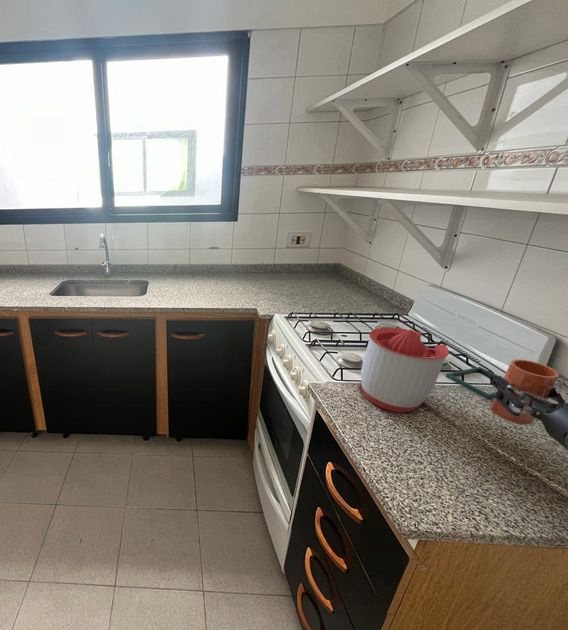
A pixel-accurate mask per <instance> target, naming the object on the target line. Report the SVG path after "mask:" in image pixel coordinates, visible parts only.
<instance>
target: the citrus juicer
mask: <svg viewBox="0 0 568 630" xmlns="http://www.w3.org/2000/svg"><path fill="white" fill-rule="evenodd" d="M422 335H423V334H422V332H419V331H415V330H413V329H406V328H400V327H377V328H375V329H372V330H371V331H369V339H368V343H367V346H366V350H365V353H364V357H363V360H362V365H361V369H360V370H361V372H360V378H361V379H360V380H361V383H360V385H361V391H362V394H363V396H364V397H365V398H366V399H367V400H368V401H369V402H371V404H373V405H375V406H377V407H379V408H382V409H384V410H386V411H388V412H394V413H403V414H404V413H410V412H413V411H415V410H416V409H418V408H419V407H420V406H422V404H423V402H425V400H426V399H427V398H428V397H429V395H430V394H431V392H433V390H434V387H435V385H436V383H437V381H438V377H439V375H440V373H441V370H442V367H443V365H444V363H445V360H446V357H448V356H449V354H450V349H449V348H448V347H447V346H446V345H445V344H444V343H442V344H438V345H435V346H434V348H429V347H428V346H426V345H425V344H423V342H422V340H421V339H422V338H421V337H422Z"/></svg>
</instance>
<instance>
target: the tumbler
mask: <svg viewBox="0 0 568 630" xmlns="http://www.w3.org/2000/svg"><path fill="white" fill-rule="evenodd" d="M559 376H560V373H559V372H558V371H557V370H556V369H554V368H552V367H550V366H548V365H545V364H543V363H539V362H536V361H532V360H527V359H512V360H511V361H510V364H509V365H508V368H507V370H506V372H505V374H504V377H503V378H504V379H505V380H507V381H508V382H509V383H511V384H512V385H513V386H514V387H516V388H519V389H521V390H523V391H526V390H529V391H531V392H534V393H536V394H538V395H540V396H542V397H547V396H548V394H549V393H550V391H551V389H552V387H554V385H555V384H556V382H557V380H558V378H559ZM513 394H514V395H515V396H516V397H517V398H519V397H520V395H519V394H517V393H515V392H514V393H513ZM531 399H532V398H531V397H528V399H527V401H526V405H528V406H529V403H530V401H531ZM489 409H490V411H491V412H492V413H493V414H495V415H496V416H497V417H499V418H501V419H503V420H505V421H508V422H510V423H512V424H518V425H525V426H527V425H531V424H533V423H534V421H535V420H536V418H534V417H532V416H531V415H530V414H526V413H521V414H520V415H519V416H514V415H512V414H511V413H510V412H509V411H507V410H506V409H505V408H504V407H503V406H502V405H501V404H500V403H499V402H498V401H497V400H496V399H495V398H492V401H491V403H490V406H489Z"/></svg>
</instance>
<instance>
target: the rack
mask: <svg viewBox="0 0 568 630" xmlns="http://www.w3.org/2000/svg"><path fill="white" fill-rule="evenodd" d="M478 372H479V373H481V374H483V375H484V376H485V375H486V376H487V377H490V378H491V379H493V378H494V376H499V375H498V374H495V373H494V372H492V371H489V370H488V369H485V368H483V367H481V366H477V367H472V368H467V369H463V370H458V371H452V372H448V373H446V374H445V378H446V379H448V380H450V381H453V382H454V383H457V384H458V385H460V386H461V387H464V388H466V389H467V390H469V391H471V392H473V393H475V394H477V395H479V396H481V397H483V398H484V399H486V400H491V399H494V396H495V395H496V392H497V391H494V392H490V393H488V392H485V391H483V390H482V389H480V388H478V387H476V386H474V385H472V384H470V383H468V382H467V381H464V380H462V378H461V379H460V378H459V377H460V376H464V375H469V374H475V373H478Z"/></svg>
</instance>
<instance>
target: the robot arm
mask: <svg viewBox="0 0 568 630" xmlns="http://www.w3.org/2000/svg"><path fill="white" fill-rule="evenodd" d="M490 384H491V386H493V387H494V388H495V389H497V391H495V392H496V395H495V396H494V398H495V399H496V400H497V401H498V402H499V403H500V404H501V405H502V406H503V407H504V408H505V409H506V410H507V411H509V412H510V413H511V414H512V415H514V416H519V415H520V414H521V413H526V414H530V415H531V416H532V417H534V418H535V420H536V419H537V420H538V421H540V422H541V423H542V424H543V427H544V430H545V432H546V433H547V434H548V435H549V437H551V438H552V439H554V440H555V441H556V443H558V444H560V445H561V446H562V447H563V448H564V449H566V450H567V451H568V392H566V390H563V389H561V388H556V387H555V386H553V387H552V389H551V391H550V393H549V394H548V396H547V397H542V396H540V395H538V394H536V393H534V392H531V391H529V390H526V391H523V390H521V389H519V388H516V387H514V386H513V385H512V384H511V383H509V382H508V381H507V380H505V379H504V377H502V375H498V376H494V378H492V381H491V382H490ZM514 392H515V393H517V394H519V395H520V397H519V398H517V397H516V396H515V395H514V394H513V393H514ZM528 397H531V398H532V399H531V401H530V403H529V406H528V405H526V401H527V399H528ZM494 398H493V399H494Z"/></svg>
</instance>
